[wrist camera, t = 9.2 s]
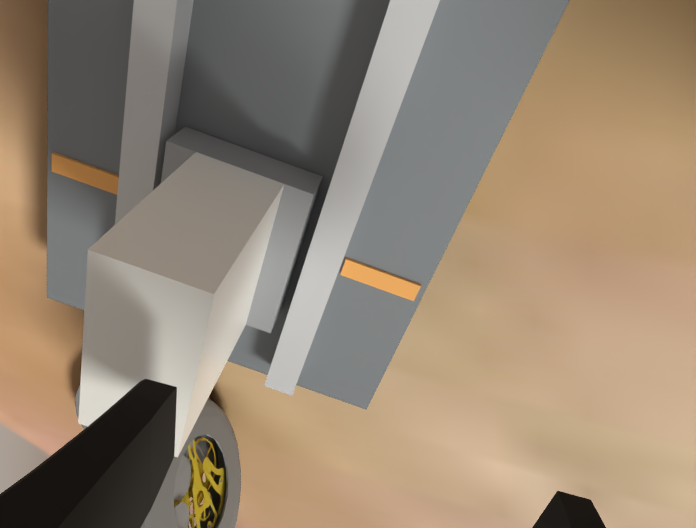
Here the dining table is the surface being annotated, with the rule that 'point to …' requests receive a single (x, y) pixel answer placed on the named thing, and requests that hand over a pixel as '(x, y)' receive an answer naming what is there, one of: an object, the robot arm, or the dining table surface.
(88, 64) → the fader console
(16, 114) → the dining table surface
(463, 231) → the dining table surface
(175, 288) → the fader tab
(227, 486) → the pocket watch
